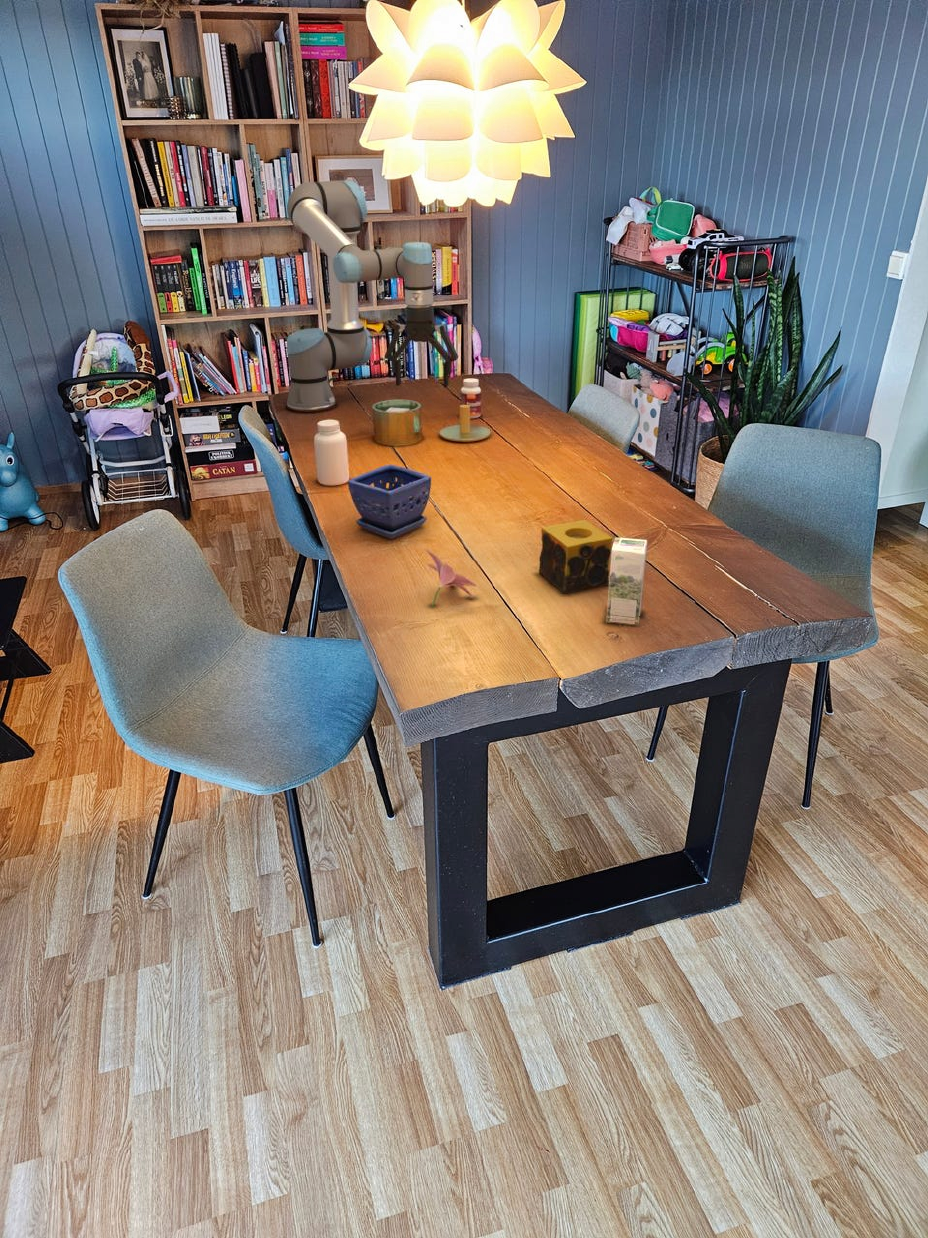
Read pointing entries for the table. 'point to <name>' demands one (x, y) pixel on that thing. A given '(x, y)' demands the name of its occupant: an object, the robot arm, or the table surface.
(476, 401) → the pill bottle
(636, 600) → the syrup box
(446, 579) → the lily
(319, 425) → the pill bottle
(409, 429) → the tin
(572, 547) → the candle
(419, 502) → the flower pot
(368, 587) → the table surface
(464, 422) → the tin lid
